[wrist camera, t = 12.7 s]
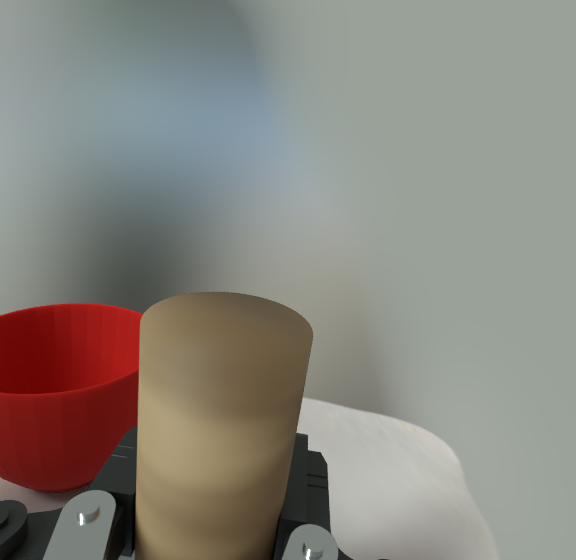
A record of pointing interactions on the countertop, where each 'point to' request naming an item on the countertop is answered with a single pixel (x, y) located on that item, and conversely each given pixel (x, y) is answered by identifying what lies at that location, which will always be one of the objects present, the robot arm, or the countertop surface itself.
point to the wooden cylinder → (216, 424)
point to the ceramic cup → (65, 391)
